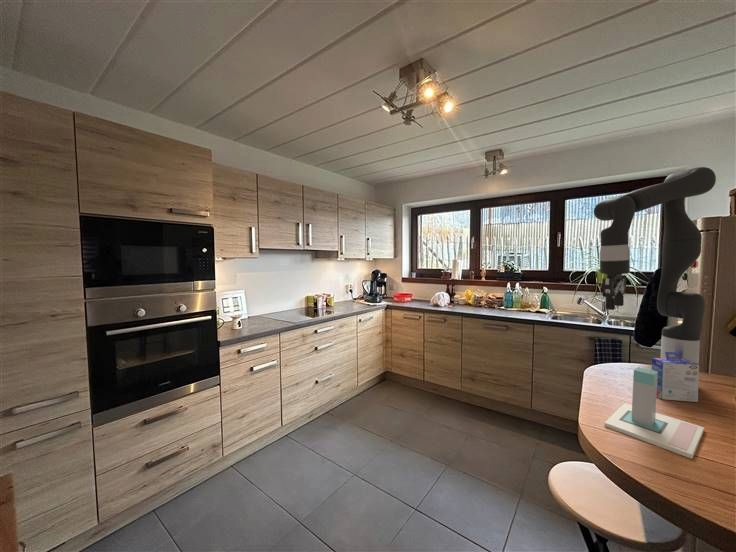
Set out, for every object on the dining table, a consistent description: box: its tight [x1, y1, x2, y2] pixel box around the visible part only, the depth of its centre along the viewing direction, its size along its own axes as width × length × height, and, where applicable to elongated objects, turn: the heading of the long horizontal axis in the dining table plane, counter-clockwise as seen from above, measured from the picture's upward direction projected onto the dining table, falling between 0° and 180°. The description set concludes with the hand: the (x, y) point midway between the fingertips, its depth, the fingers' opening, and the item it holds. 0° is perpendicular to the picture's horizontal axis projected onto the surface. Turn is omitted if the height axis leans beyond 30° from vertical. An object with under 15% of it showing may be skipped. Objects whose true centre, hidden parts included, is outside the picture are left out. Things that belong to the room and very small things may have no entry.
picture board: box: [604, 402, 705, 459], centre depth 78 cm, size 18×16×1 cm
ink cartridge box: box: [651, 352, 700, 403], centre depth 94 cm, size 10×6×14 cm, turn 78°
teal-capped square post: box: [631, 366, 658, 427], centre depth 79 cm, size 4×4×14 cm
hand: (614, 307), depth 97 cm, fingers open, 8 cm apart
